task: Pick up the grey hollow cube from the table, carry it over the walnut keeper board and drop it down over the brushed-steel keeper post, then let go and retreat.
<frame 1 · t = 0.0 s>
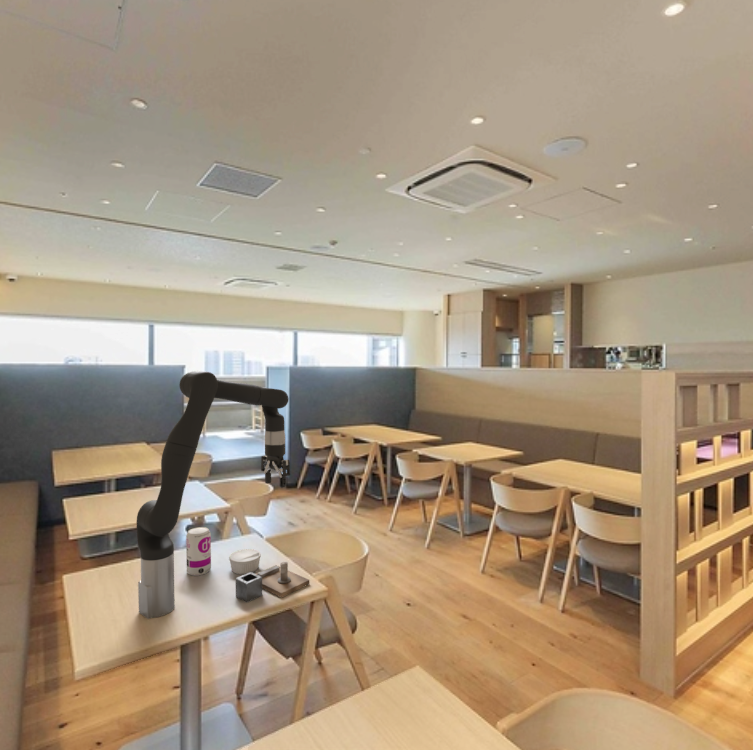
hand: (275, 485, 180), 29 cm above the table, fingers open, 8 cm apart
ramekin: (245, 569, 175), on the table
keeper board: (278, 582, 164), on the table
grey hollow cube: (249, 595, 155), on the table
supplement can: (198, 571, 173), on the table
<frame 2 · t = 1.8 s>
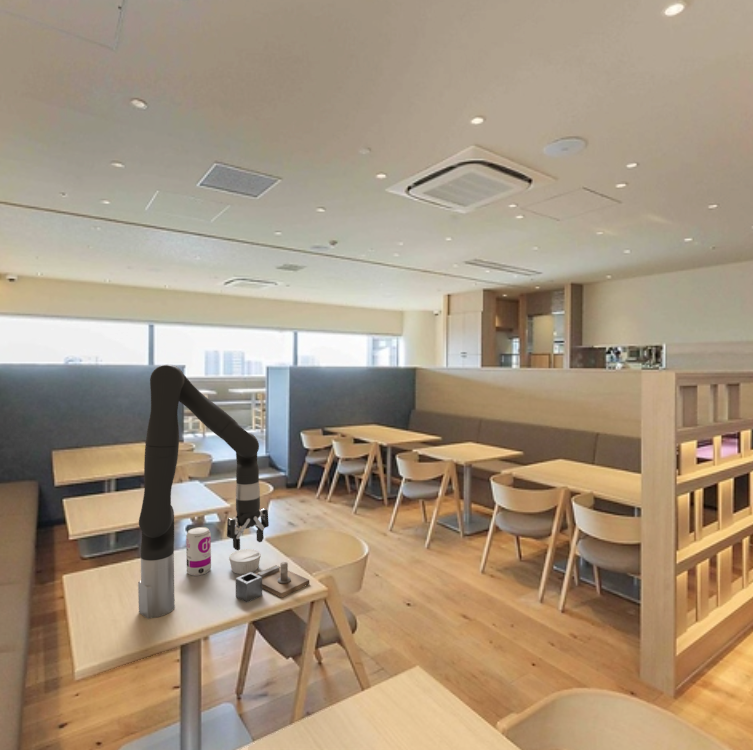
hand: (248, 545, 154), 17 cm above the table, fingers open, 8 cm apart
nothing on the table moved.
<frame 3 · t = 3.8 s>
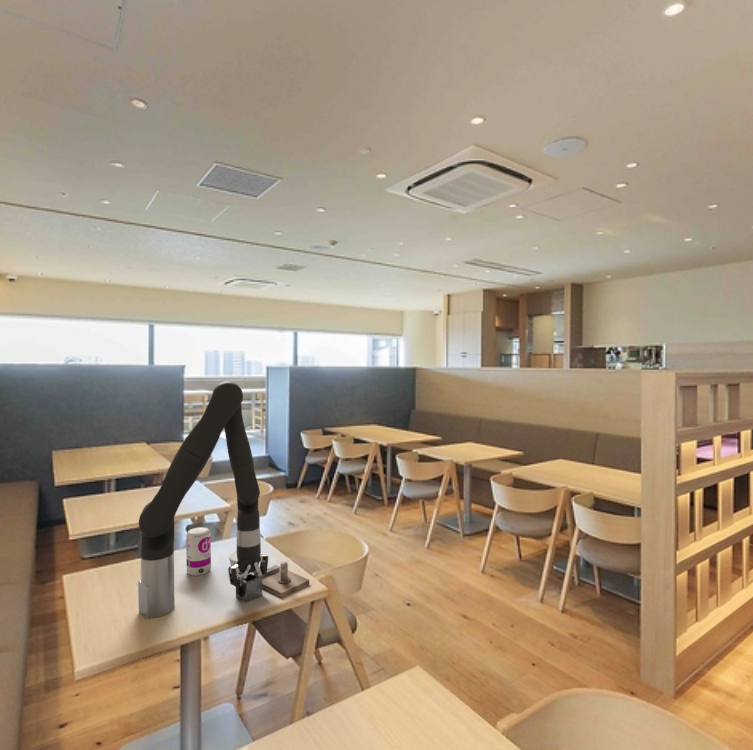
hand: (249, 592, 155), 1 cm above the table, fingers closed on grey hollow cube, 6 cm apart
grey hollow cube: (249, 595, 155), on the table, touching gripper
everything else where it was.
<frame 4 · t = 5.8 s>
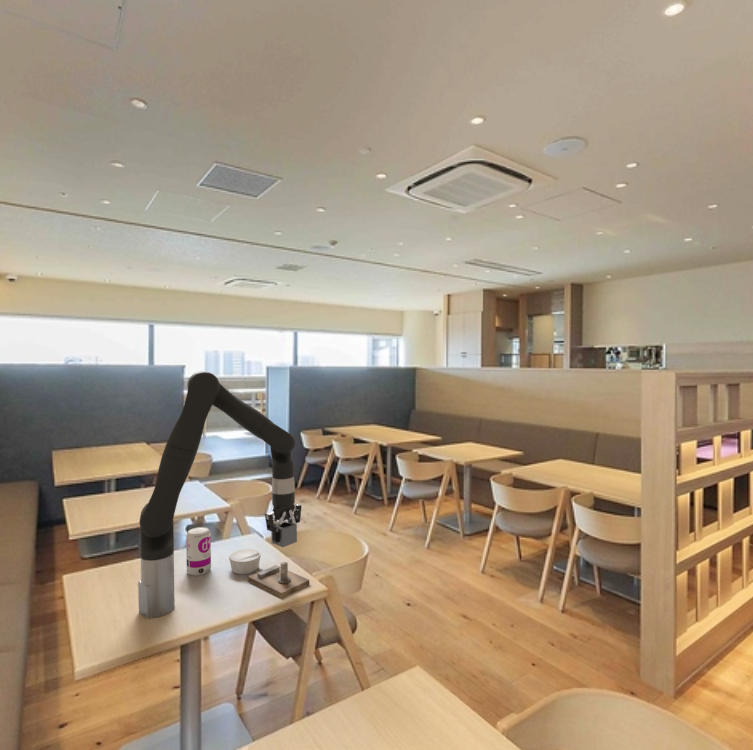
hand: (284, 539, 161), 16 cm above the table, fingers closed on grey hollow cube, 6 cm apart
grey hollow cube: (284, 542, 161), point 15 cm above the table, touching gripper
everything else where it was.
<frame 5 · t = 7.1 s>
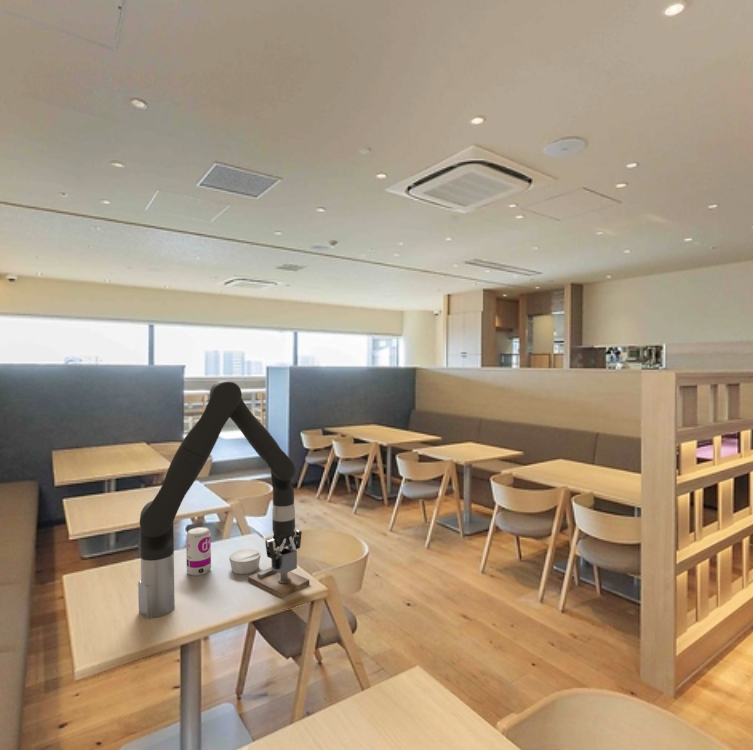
hand: (284, 565, 162), 7 cm above the table, fingers closed on grey hollow cube, 6 cm apart
grey hollow cube: (284, 568, 162), point 6 cm above the table, touching gripper
everything else where it was.
when the fingers open (5 cm above the table, at t = 8.0 s): grey hollow cube drops 1 cm, resting on keeper board.
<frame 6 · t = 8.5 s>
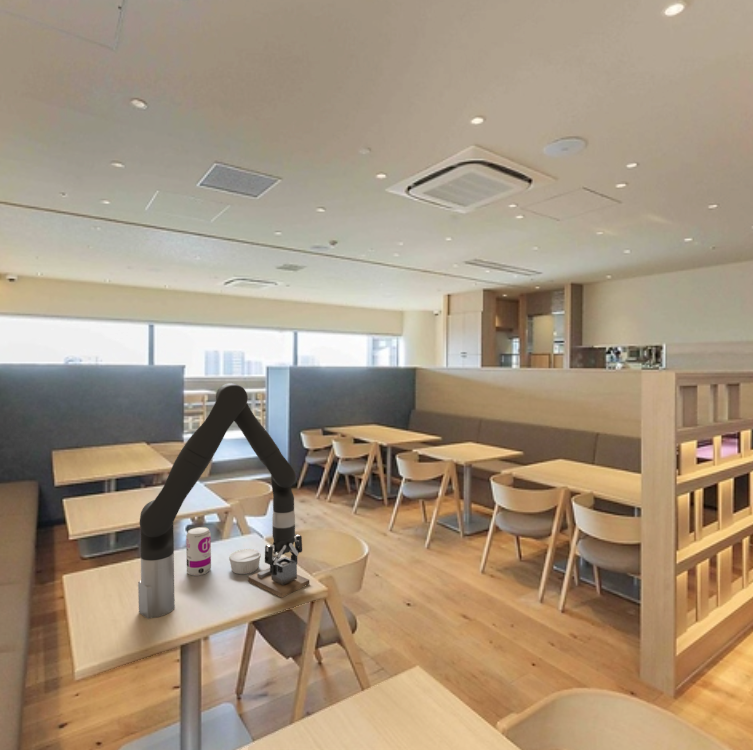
hand: (284, 570, 162), 5 cm above the table, fingers open, 8 cm apart
grey hollow cube: (284, 579, 162), point 2 cm above the table, touching keeper board
everything else where it was.
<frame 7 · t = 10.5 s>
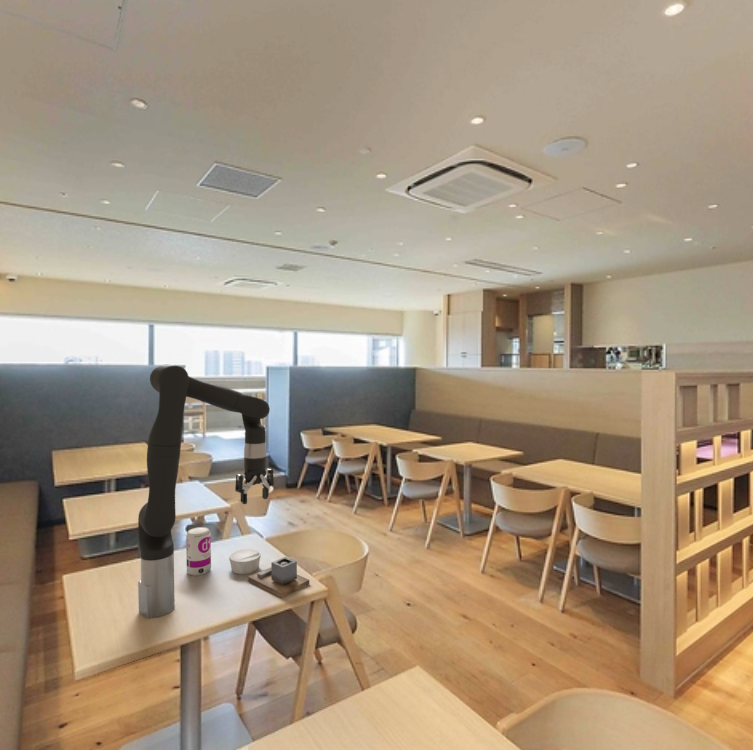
hand: (254, 501, 168), 27 cm above the table, fingers open, 8 cm apart
nothing on the table moved.
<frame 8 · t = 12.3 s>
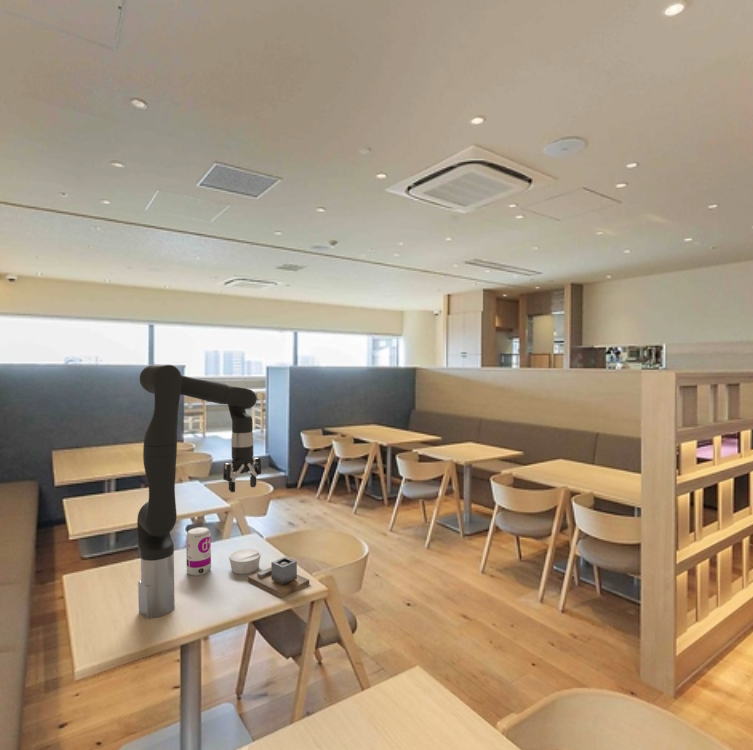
hand: (242, 489, 171), 30 cm above the table, fingers open, 8 cm apart
nothing on the table moved.
at the end: grey hollow cube 0.0 cm from the target spot on the keeper board, point 2.0 cm above the keeper board's base; the gripper is holding nothing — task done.
